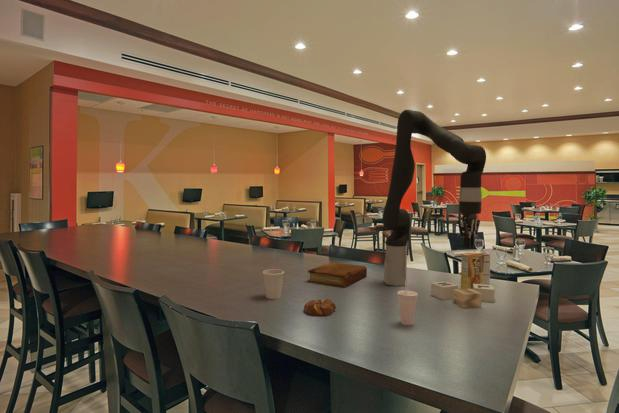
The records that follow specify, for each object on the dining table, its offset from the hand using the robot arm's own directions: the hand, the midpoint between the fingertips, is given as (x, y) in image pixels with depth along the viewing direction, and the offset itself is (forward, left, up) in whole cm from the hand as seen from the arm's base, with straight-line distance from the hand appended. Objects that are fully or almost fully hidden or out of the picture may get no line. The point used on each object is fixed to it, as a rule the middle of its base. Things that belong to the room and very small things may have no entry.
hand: (468, 247), depth 140 cm
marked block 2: (+9, +7, -21) cm, 24 cm away
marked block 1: (-5, +10, -21) cm, 24 cm away
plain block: (0, 0, -21) cm, 21 cm away
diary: (-45, +36, -22) cm, 62 cm away
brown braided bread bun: (-54, -9, -22) cm, 59 cm away
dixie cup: (-72, +7, -21) cm, 75 cm away
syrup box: (+18, +29, -21) cm, 40 cm away
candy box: (+10, +20, -21) cm, 31 cm away
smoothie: (-27, -20, -21) cm, 40 cm away
